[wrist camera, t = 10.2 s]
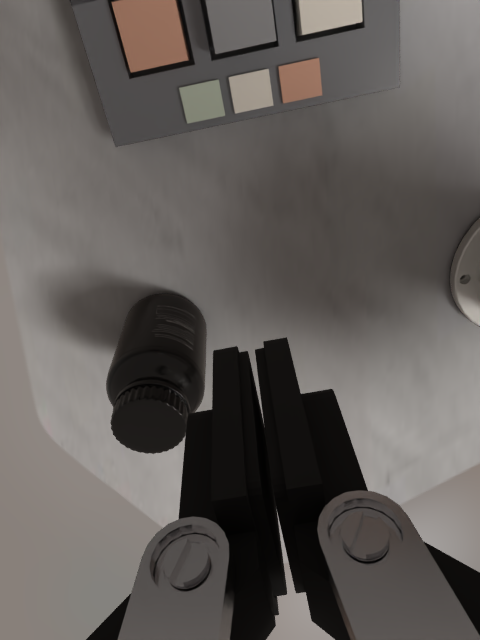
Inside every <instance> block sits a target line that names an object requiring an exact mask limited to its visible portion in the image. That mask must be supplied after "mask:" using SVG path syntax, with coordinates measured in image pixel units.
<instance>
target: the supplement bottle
mask: <svg viewBox="0 0 480 640" xmlns="http://www.w3.org/2000/svg"><path fill="white" fill-rule="evenodd" d="M206 337H207V329H206V323H205V319H204V317H203V315H202V313H201V312H200V310H199V309H198V308H197V307H196V306H195V305H194V304H193V303H191V302H190V301H189V300H187V299H185V298H183V297H180V296H177V295H173V294H155V295H151V296H148V297H146V298H144V299H142V300H140V301H139V302H138V303H136V304H135V305H134V306H133V307H132V309H131V310H130V312H129V314H128V316H127V318H126V321H125V324H124V326H123V329H122V333H121V336H120V339H119V342H118V345H117V348H116V351H115V354H114V357H113V360H112V363H111V366H110V369H109V372H108V376H107V381H106V390H107V394H108V398H109V400H110V402H111V404H112V406H113V413H112V419H111V425H112V426H111V429H112V431H113V435H114V436H115V437H116V439H117V440H118V441H120V443H121V444H123V445H125V446H126V447H127V448H130V449H131V450H134V451H138V452H143V453H153V454H154V453H161V452H163V451H168V450H169V449H173V448H174V447H175V446H177V445H178V444H179V442H181V441H182V440H183V438H184V437H185V435H186V426H187V418H188V415H189V413H195V411H196V410H197V409H198V407H199V406H200V404H201V402H202V400H203V396H204V390H205V368H206Z"/></svg>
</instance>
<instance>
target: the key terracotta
mask: <svg viewBox="0 0 480 640" xmlns="http://www.w3.org/2000/svg"><path fill="white" fill-rule="evenodd" d="M111 3H112V6H113V10H114V14H115V17H116V21H117V25H118V28H119V32H120V36H121V39H122V43H123V46H124V50H125V54H126V57H127V61H128V65H129V68H130V72H131V73H132V72H137V71H141V70H146V69H150V68H155V67H159V66H164V65H168V64H173V63H178V62H182V61H187V60H190V55H189V50H188V46H187V41H186V36H185V31H184V27H183V22H182V17H181V13H180V8H179V3H178V0H119V1H115V2H111Z"/></svg>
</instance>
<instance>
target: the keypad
mask: <svg viewBox="0 0 480 640" xmlns="http://www.w3.org/2000/svg"><path fill="white" fill-rule="evenodd" d="M115 1H119V0H70V2H71V5H72V9H73V12H74V15H75V18H76V21H77V25H78V28H79V31H80V34H81V37H82V41H83V44H84V47H85V50H86V53H87V57H88V60H89V63H90V66H91V70H92V73H93V76H94V79H95V82H96V86H97V89H98V92H99V95H100V98H101V102H102V105H103V108H104V111H105V114H106V118H107V121H108V124H109V127H110V130H111V134H112V137H113V140H114V143H115V146H116V147H118V146H123V145H128V144H132V143H137V142H142V141H147V140H151V139H156V138H161V137H166V136H171V135H175V134H180V133H185V132H190V131H194V130H199V129H204V128H209V127H213V126H218V125H223V124H228V123H233V122H237V121H242V120H247V119H252V118H256V117H261V116H266V115H271V114H275V113H280V112H285V111H290V110H294V109H299V108H304V107H309V106H314V105H318V104H323V103H328V102H333V101H337V100H342V99H347V98H352V97H356V96H361V95H366V94H371V93H376V92H380V91H385V90H390V89H395V88H399V87H400V0H362V22H360V23H356V24H351V25H346V26H342V27H337V28H333V29H328V30H324V31H319V32H315V33H310V34H305V35H301V36H296V34H295V24H294V15H293V5H292V0H178V3H179V8H180V13H181V17H182V22H183V27H184V31H185V36H186V41H187V46H188V50H189V55H190V60H187V61H182V62H178V63H173V64H168V65H164V66H159V67H155V68H150V69H146V70H141V71H137V72H132V73H131V72H130V68H129V65H128V61H127V57H126V54H125V50H124V46H123V43H122V39H121V36H120V32H119V28H118V25H117V21H116V17H115V14H114V10H113V6H112V3H111V2H115Z"/></svg>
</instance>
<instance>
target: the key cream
mask: <svg viewBox="0 0 480 640" xmlns="http://www.w3.org/2000/svg"><path fill="white" fill-rule="evenodd" d="M292 5H293V15H294V24H295V34H296V36H301V35H305V34H310V33H315V32H319V31H324V30H328V29H333V28H337V27H342V26H346V25H351V24H356V23H360V22H362V0H292Z"/></svg>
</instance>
